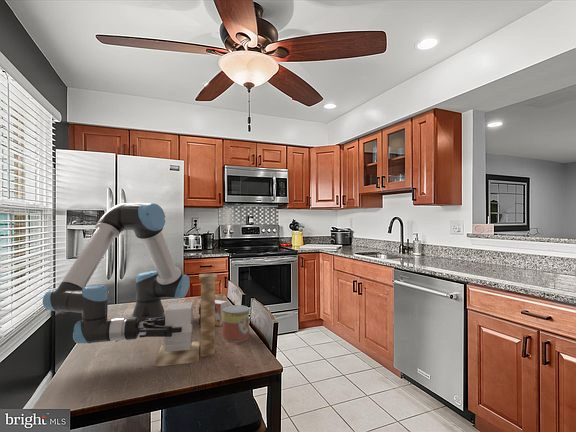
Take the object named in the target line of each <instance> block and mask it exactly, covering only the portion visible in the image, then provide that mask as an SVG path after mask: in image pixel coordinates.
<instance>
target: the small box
mask: <svg viewBox="0 0 576 432" xmlns="http://www.w3.org/2000/svg"><path fill="white" fill-rule="evenodd" d="M227 306H228V301H227V300H221V299H219V300H218V299H215V326H218V327H221V326H223V310H222V309H223V308H224V307H227Z"/></svg>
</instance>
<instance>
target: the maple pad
mask: <svg viewBox="0 0 576 432" xmlns="http://www.w3.org/2000/svg"><path fill="white" fill-rule="evenodd" d="M199 361H200V341H199V340H198V341H197V340H196V341H192V345H191V349H190V350H182V351H168V352H165V343H164V344H161V345H160V348H159V351H158V353H157V357H156V360H155V367H157V368H158V367H167V366H173V365H182V364H191V363H193V364H194V363H199Z"/></svg>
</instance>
